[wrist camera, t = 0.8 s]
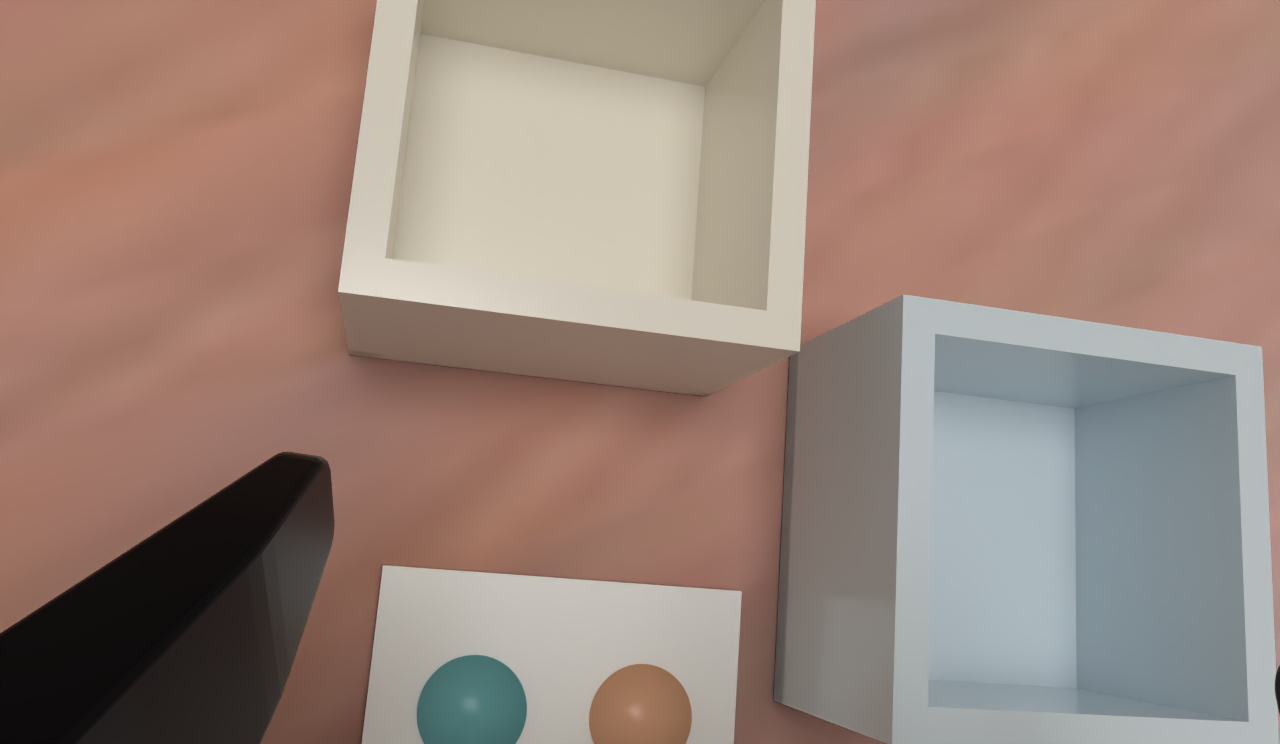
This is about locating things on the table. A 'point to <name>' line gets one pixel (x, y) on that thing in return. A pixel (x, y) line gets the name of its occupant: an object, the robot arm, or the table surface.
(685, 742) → the card
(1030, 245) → the table surface
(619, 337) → the open cream box
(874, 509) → the grey open box
